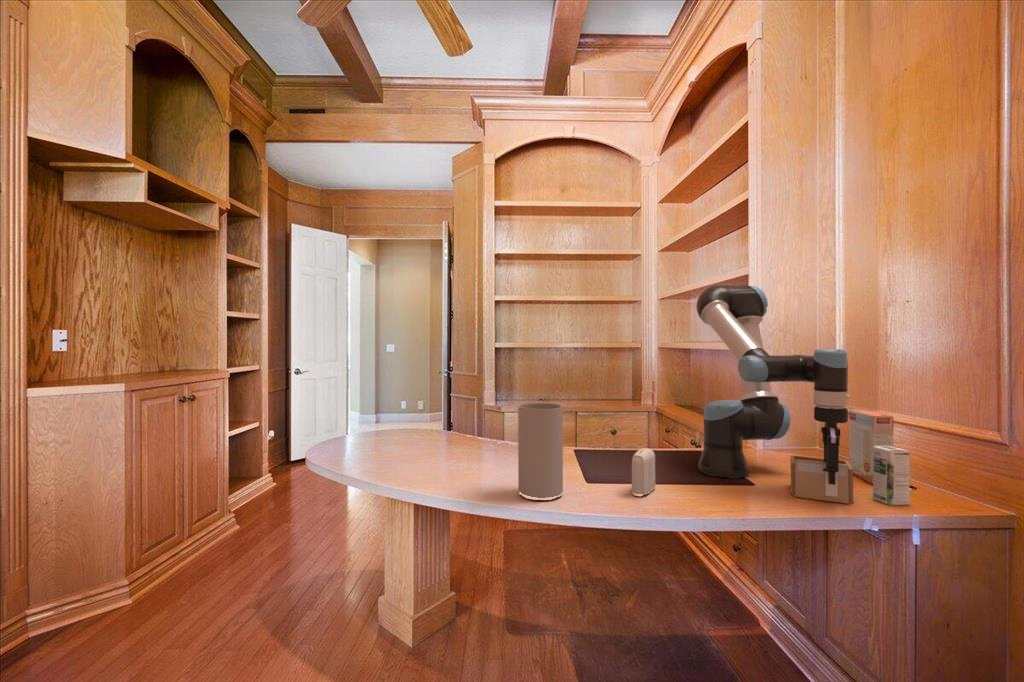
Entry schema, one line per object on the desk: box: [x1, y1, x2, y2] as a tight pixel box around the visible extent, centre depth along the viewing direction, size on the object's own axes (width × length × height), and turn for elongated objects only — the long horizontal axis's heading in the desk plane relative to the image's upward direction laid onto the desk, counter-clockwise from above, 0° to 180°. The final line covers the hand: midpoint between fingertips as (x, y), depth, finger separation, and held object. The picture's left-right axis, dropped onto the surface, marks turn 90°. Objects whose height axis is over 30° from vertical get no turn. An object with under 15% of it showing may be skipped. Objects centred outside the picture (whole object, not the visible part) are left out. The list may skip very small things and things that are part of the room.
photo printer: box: [631, 447, 656, 495], centre depth 136 cm, size 10×4×12 cm, turn 144°
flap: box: [794, 459, 850, 505], centre depth 128 cm, size 12×2×10 cm, turn 61°
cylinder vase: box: [517, 402, 564, 498], centre depth 134 cm, size 12×12×25 cm
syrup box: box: [872, 446, 911, 506], centre depth 127 cm, size 6×6×14 cm
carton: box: [790, 454, 854, 504], centre depth 134 cm, size 14×11×9 cm
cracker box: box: [849, 409, 895, 485], centre depth 147 cm, size 14×6×21 cm, turn 168°
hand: (831, 494), depth 127 cm, fingers closed on flap, 1 cm apart
